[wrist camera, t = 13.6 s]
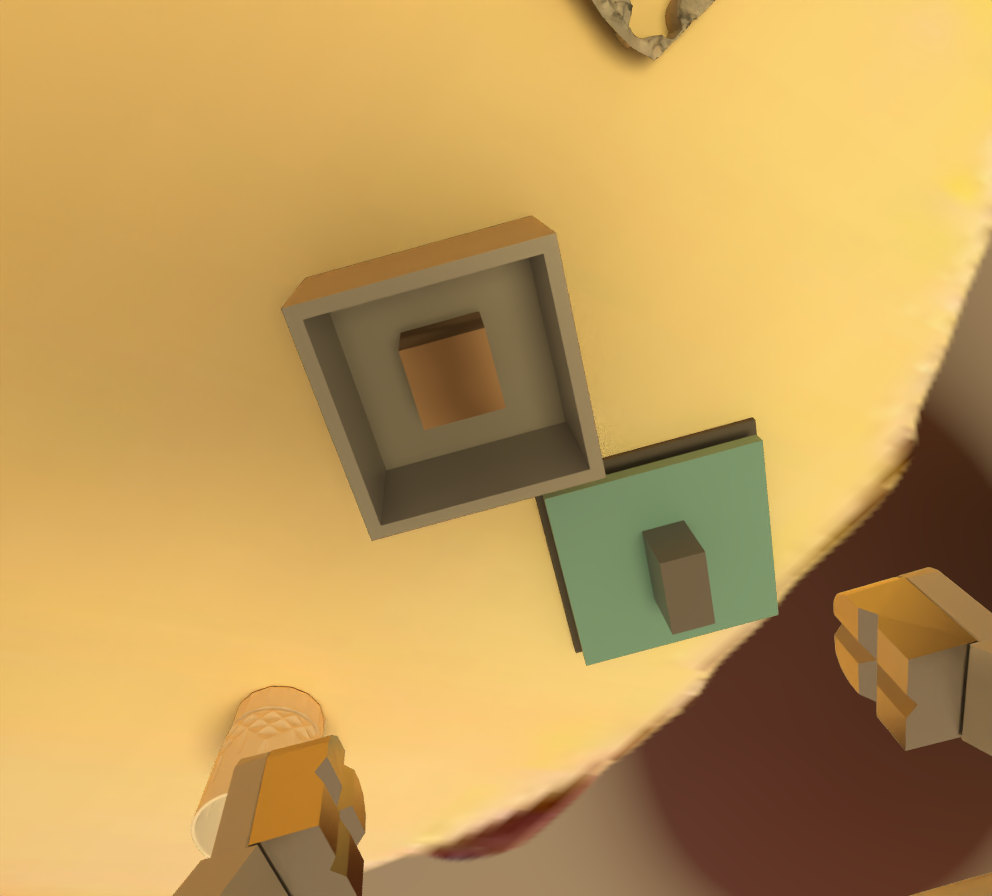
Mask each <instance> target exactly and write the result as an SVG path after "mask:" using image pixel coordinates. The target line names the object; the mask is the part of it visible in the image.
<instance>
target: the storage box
mask: <svg viewBox="0 0 992 896" xmlns="http://www.w3.org/2000/svg"><path fill="white" fill-rule="evenodd" d="M281 310H282V312H283V315H284V318H285V320H286V323H287V325H288V328H289V330H290V333H291V335H292V338H293V341H294V343H295V346H296V348H297V351H298V353H299V356H300V359H301V361H302V364H303V366H304V369H305V371H306V374H307V376H308V379H309V382H310V384H311V387H312V389H313V392H314V394H315V397H316V400H317V402H318V405H319V407H320V410H321V412H322V415H323V417H324V420H325V423H326V425H327V428H328V430H329V433H330V435H331V438H332V441H333V443H334V446H335V448H336V451H337V453H338V456H339V458H340V461H341V464H342V466H343V469H344V471H345V474H346V476H347V479H348V481H349V484H350V487H351V489H352V492H353V494H354V497H355V499H356V502H357V505H358V507H359V510H360V512H361V515H362V517H363V520H364V522H365V525H366V528H367V530H368V533H369V535H370V538H371V540H372V541H373V540H377V539H381V538H385V537H388V536H392V535H396V534H399V533H403V532H407V531H410V530H414V529H418V528H422V527H425V526H429V525H433V524H436V523H440V522H444V521H448V520H451V519H455V518H459V517H462V516H466V515H470V514H473V513H477V512H481V511H485V510H488V509H492V508H496V507H499V506H503V505H507V504H510V503H514V502H518V501H522V500H525V499H529V498H533V497H536V496H540V495H544V494H547V493H551V492H555V491H559V490H562V489H566V488H570V487H573V486H577V485H581V484H585V483H588V482H592V481H596V480H599V479H603V478H606V474H605V469H604V465H603V460H602V455H601V450H600V445H599V440H598V435H597V430H596V426H595V421H594V416H593V411H592V406H591V401H590V396H589V391H588V387H587V382H586V377H585V372H584V367H583V362H582V357H581V353H580V348H579V343H578V338H577V333H576V328H575V323H574V318H573V314H572V309H571V304H570V299H569V294H568V289H567V284H566V279H565V275H564V270H563V265H562V260H561V255H560V250H559V245H558V240H557V236H556V233H555V232H554V231H553V230H551V229H550V228H548V227H547V226H546V225H544V224H543V223H542V222H540V221H539V220H538V219H536V218H535V217H533V216H528V217H525V218H521V219H518V220H514V221H510V222H507V223H503V224H499V225H496V226H492V227H489V228H485V229H481V230H478V231H474V232H470V233H467V234H463V235H460V236H456V237H452V238H449V239H445V240H441V241H438V242H434V243H431V244H427V245H423V246H420V247H416V248H412V249H409V250H405V251H402V252H398V253H394V254H391V255H387V256H383V257H380V258H376V259H373V260H369V261H365V262H362V263H358V264H354V265H351V266H347V267H344V268H340V269H336V270H333V271H329V272H325V273H322V274H318V275H315V276H311V277H307V278H305V279H304V281H303V282H302V283H301V284H300V286H299V287H298V288H297V289H296V291H295V292H294V293H293V294H292V296H291V297H290V298H289V299H288V301H287V302H286V303H285V304H284V306H283V307H282V308H281ZM478 311H479V312H480V315H481V318H482V321H483V324H484V327H485V331H486V335H487V338H488V342H489V346H490V350H491V354H492V357H493V361H494V365H495V369H496V372H497V376H498V380H499V384H500V388H501V391H502V395H503V399H504V403H505V407H506V408H504V409H500V410H496V411H493V412H489V413H485V414H482V415H478V416H474V417H471V418H467V419H463V420H460V421H456V422H452V423H449V424H445V425H441V426H438V427H434V428H430V429H427V430H424V428H423V425H422V422H421V419H420V416H419V413H418V409H417V406H416V403H415V400H414V397H413V394H412V391H411V388H410V385H409V382H408V379H407V376H406V372H405V369H404V366H403V363H402V360H401V357H400V354H399V343H400V333H401V332H405V331H409V330H412V329H416V328H420V327H423V326H427V325H430V324H434V323H438V322H441V321H445V320H449V319H452V318H456V317H460V316H463V315H467V314H471V313H474V312H478Z"/></svg>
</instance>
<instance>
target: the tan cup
mask: <svg viewBox="0 0 992 896" xmlns="http://www.w3.org/2000/svg"><path fill="white" fill-rule="evenodd" d="M323 726H324V719H323V715H322V711H321V708H320V705H319V704H318V703H317V702H316V701H315V700H314V699H312V698H311V697H310V696H309V695H308V694H306V693H304V692H301V691H299V690H296V689H294V688H291V687H269V688H266V689H263V690H260V691H257V692H254V693H252V694H251V695H250V696H249V697H248V698H247V699H245V700H244V701H243V702H242V703H241V704H240V706H239V708H238V711H237V713H236V716H235V719H234V722H233V724H232V726H231V729H230V731H229V733H228V735H227V736H226V737H225V740H224V743H223V745H222V747H221V749H220V752H219V754H218V756H217V759H216V761H215V764H214V767H213V769H212V772H211V774H210V777H209V780H208V782H207V785H206V787H205V790H204V792H203V795H202V798H201V800H200V803H199V805H198V808H197V810H196V813H195V815H194V818H193V821H192V824H191V835H192V839H193V842H194V844H195V845H196V847H197V848H198V850H199V851H200V852H201V853H202V854H203V855H204V856H205V857H207V858H211V854H212V850H213V847H214V843H215V839H216V835H217V831H218V828H219V824H220V820H221V816H222V812H223V808H224V805H225V801H226V797H227V793H228V789H229V785H230V782H231V778H232V774H233V770H234V768H235V766H236V765H237V763H238V762H239V761H240V759H242V758H246V757H250V756H255V755H259V754H263V753H267V752H271V751H272V750H276V749H279V748H283V747H287V746H291V745H295V744H299V743H303V742H307V741H311V740H315V739H319V738H322V734H323Z"/></svg>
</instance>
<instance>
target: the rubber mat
mask: <svg viewBox="0 0 992 896" xmlns="http://www.w3.org/2000/svg"><path fill="white" fill-rule="evenodd" d="M752 435H757V433H756V422H755V419H754V418H750V419H746V420H742V421H739V422H735V423H731V424H728V425H724V426H720V427H716V428H713V429H709V430H705V431H702V432H698V433H694V434H691V435H687V436H683V437H679V438H676V439H672V440H668V441H665V442H661V443H657V444H654V445H650V446H646V447H643V448H639V449H635V450H631V451H628V452H624V453H620V454H617V455H613V456H609V457H606V458H602V460H603V465H604V469H605V474H606V475H608V474H612V473H615V472H619V471H623V470H626V469H630V468H634V467H638V466H641V465H645V464H649V463H652V462H656V461H660V460H663V459H667V458H671V457H675V456H678V455H682V454H686V453H689V452H693V451H697V450H701V449H704V448H708V447H712V446H715V445H719V444H723V443H726V442H730V441H734V440H738V439H741V438H745V437H749V436H752ZM536 501H537V505H538V509H539V512H540V516H541V520H542V524H543V528H544V532H545V536H546V539H547V543H548V547H549V551H550V555H551V559H552V563H553V566H554V570H555V574H556V578H557V582H558V586H559V590H560V593H561V597H562V601H563V605H564V609H565V613H566V617H567V620H568V624H569V628H570V632H571V636H572V640H573V644H574V647H575V651H576V653H578V652H582V648H581V644H580V640H579V636H578V632H577V628H576V624H575V620H574V616H573V612H572V608H571V605H570V601H569V597H568V593H567V589H566V585H565V581H564V577H563V573H562V569H561V565H560V561H559V557H558V553H557V549H556V545H555V541H554V538H553V534H552V530H551V526H550V522H549V518H548V514H547V510H546V506H545V502H544V498H543V495H540V496H536Z"/></svg>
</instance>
